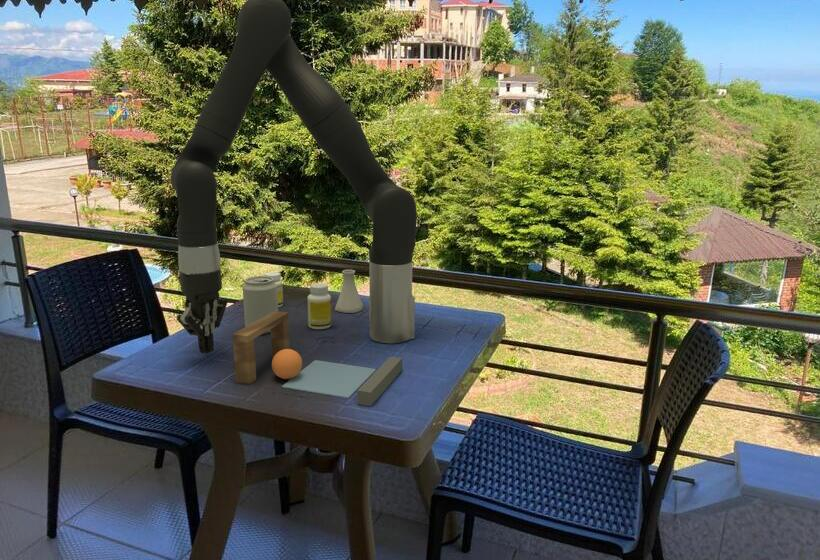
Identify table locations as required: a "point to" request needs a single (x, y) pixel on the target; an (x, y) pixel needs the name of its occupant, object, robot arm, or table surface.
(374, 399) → the bar
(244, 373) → the bridge
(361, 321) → the table surface
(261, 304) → the can
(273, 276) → the supplement bottle
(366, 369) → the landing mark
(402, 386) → the table surface
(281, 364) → the ball
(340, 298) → the flask
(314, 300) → the supplement bottle
